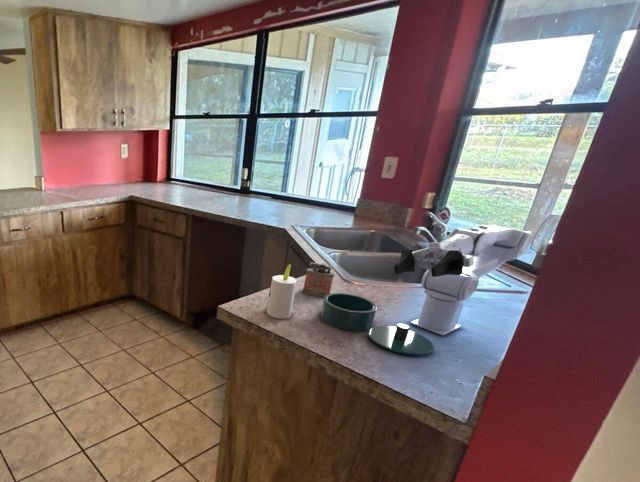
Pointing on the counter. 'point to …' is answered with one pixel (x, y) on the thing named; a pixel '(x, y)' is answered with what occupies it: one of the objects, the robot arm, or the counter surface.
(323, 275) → the brick planter box
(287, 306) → the candle
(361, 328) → the pot
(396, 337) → the cover
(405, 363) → the counter surface
